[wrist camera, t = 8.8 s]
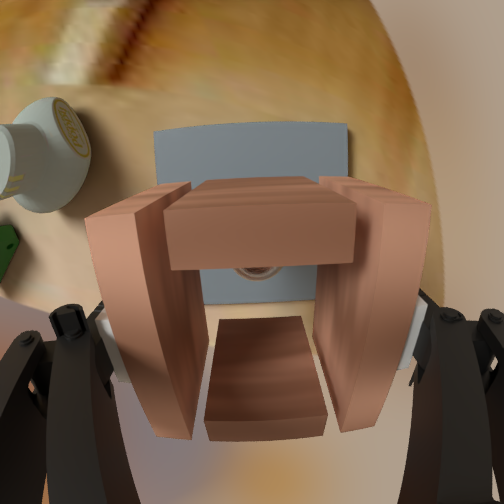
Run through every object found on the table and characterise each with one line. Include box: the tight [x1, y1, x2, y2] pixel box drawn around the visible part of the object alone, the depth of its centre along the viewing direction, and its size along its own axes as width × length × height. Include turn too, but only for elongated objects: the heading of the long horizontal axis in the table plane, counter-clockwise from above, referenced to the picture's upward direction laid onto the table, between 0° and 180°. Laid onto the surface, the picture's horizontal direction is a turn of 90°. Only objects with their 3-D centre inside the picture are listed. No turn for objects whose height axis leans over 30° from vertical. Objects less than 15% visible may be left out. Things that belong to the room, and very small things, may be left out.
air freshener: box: [0, 97, 91, 213], centre depth 18 cm, size 11×8×10 cm
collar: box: [84, 176, 432, 442], centre depth 11 cm, size 9×9×7 cm
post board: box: [154, 122, 348, 304], centre depth 24 cm, size 16×16×1 cm
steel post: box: [232, 266, 283, 281], centre depth 19 cm, size 4×4×10 cm
